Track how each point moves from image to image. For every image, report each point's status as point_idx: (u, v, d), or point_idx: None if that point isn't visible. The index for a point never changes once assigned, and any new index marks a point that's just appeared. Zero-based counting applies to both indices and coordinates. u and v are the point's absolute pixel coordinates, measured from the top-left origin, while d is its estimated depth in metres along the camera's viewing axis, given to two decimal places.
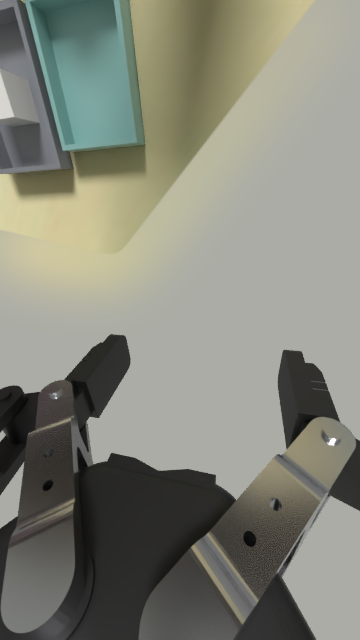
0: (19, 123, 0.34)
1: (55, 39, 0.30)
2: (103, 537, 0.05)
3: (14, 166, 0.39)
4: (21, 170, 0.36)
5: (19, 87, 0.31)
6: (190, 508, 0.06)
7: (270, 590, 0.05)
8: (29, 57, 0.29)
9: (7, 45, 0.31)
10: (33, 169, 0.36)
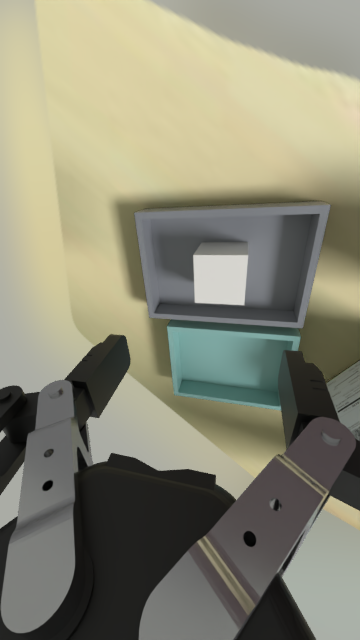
0: None
1: None
2: (103, 537, 0.05)
3: (153, 219, 0.24)
4: (142, 258, 0.24)
5: None
6: (190, 508, 0.06)
7: (270, 590, 0.05)
8: (253, 322, 0.25)
9: (281, 272, 0.24)
10: (145, 278, 0.25)
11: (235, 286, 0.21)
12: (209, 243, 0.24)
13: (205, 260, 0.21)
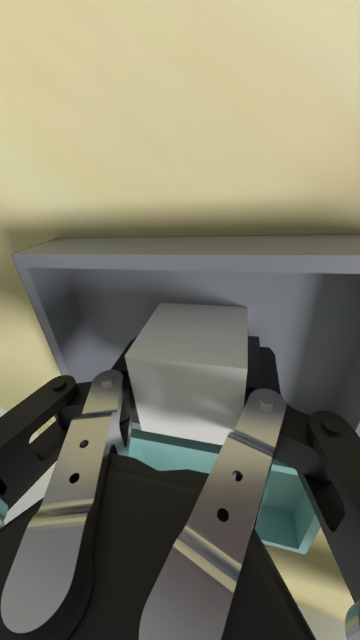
0: None
1: None
2: (110, 554, 0.05)
3: None
4: (47, 334, 0.13)
5: None
6: (190, 508, 0.06)
7: (248, 552, 0.05)
8: None
9: (310, 361, 0.13)
10: (59, 365, 0.14)
11: (219, 418, 0.10)
12: (173, 307, 0.12)
13: (151, 367, 0.09)
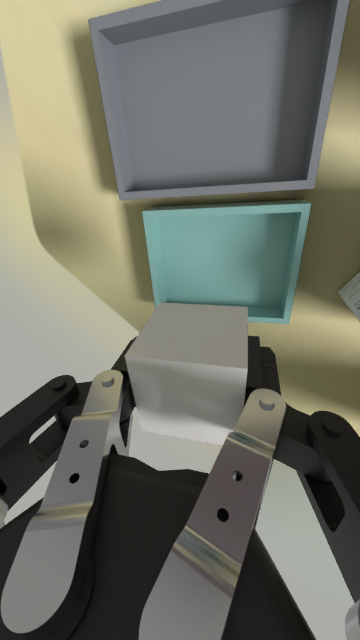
0: None
1: (269, 216, 0.22)
2: (110, 554, 0.05)
3: (119, 50, 0.19)
4: (104, 100, 0.18)
5: None
6: (190, 508, 0.06)
7: (248, 552, 0.05)
8: (249, 188, 0.19)
9: (286, 117, 0.18)
10: (110, 135, 0.20)
11: (219, 417, 0.10)
12: (173, 307, 0.12)
13: (151, 366, 0.09)
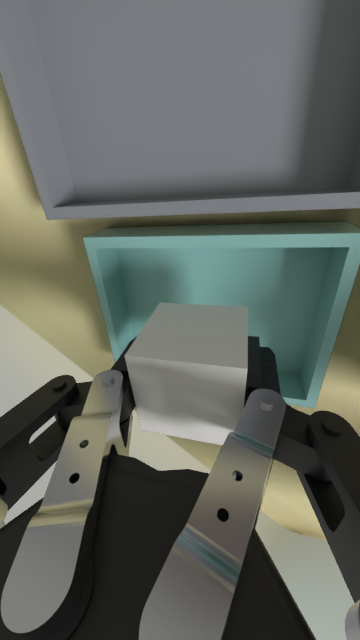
0: None
1: (287, 247, 0.14)
2: (110, 554, 0.05)
3: None
4: None
5: None
6: (190, 508, 0.06)
7: (248, 552, 0.05)
8: (257, 204, 0.11)
9: (325, 76, 0.10)
10: (16, 112, 0.11)
11: (219, 417, 0.10)
12: (173, 307, 0.12)
13: (150, 366, 0.09)
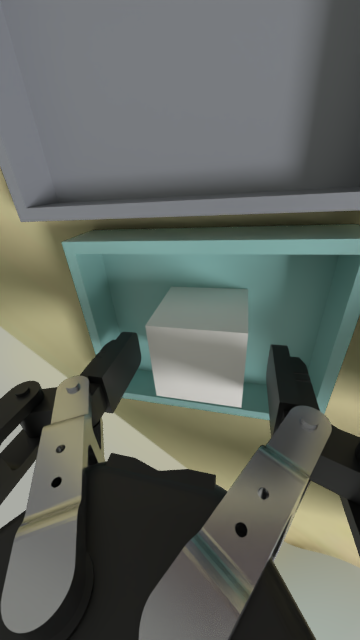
0: None
1: None
2: (106, 542, 0.05)
3: None
4: None
5: None
6: (190, 508, 0.06)
7: (263, 576, 0.05)
8: (257, 205, 0.09)
9: (337, 55, 0.09)
10: None
11: (224, 379, 0.12)
12: (182, 290, 0.14)
13: (167, 335, 0.11)
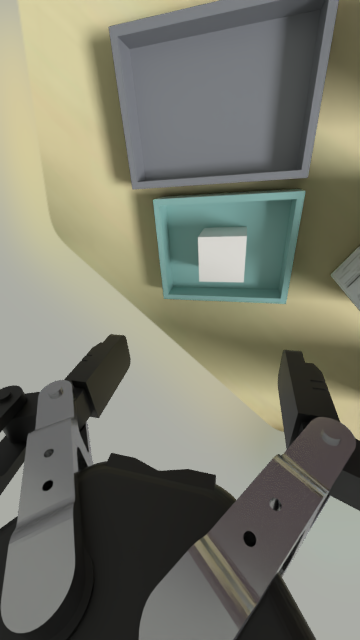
0: None
1: (267, 204, 0.24)
2: (103, 537, 0.05)
3: (134, 54, 0.21)
4: (121, 98, 0.21)
5: None
6: (190, 508, 0.06)
7: (270, 590, 0.05)
8: (250, 177, 0.22)
9: (283, 113, 0.21)
10: (125, 130, 0.22)
11: (235, 265, 0.24)
12: (211, 228, 0.26)
13: (208, 241, 0.23)
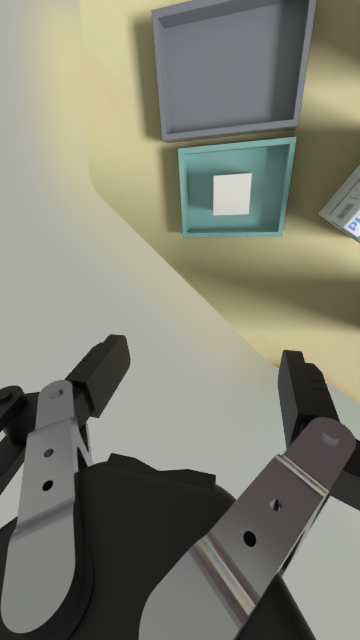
0: None
1: (268, 153, 0.31)
2: (103, 537, 0.05)
3: (167, 32, 0.28)
4: (157, 66, 0.27)
5: None
6: (190, 508, 0.06)
7: (270, 590, 0.05)
8: (255, 127, 0.28)
9: (279, 77, 0.27)
10: (159, 91, 0.29)
11: (242, 198, 0.30)
12: None
13: (221, 179, 0.30)
